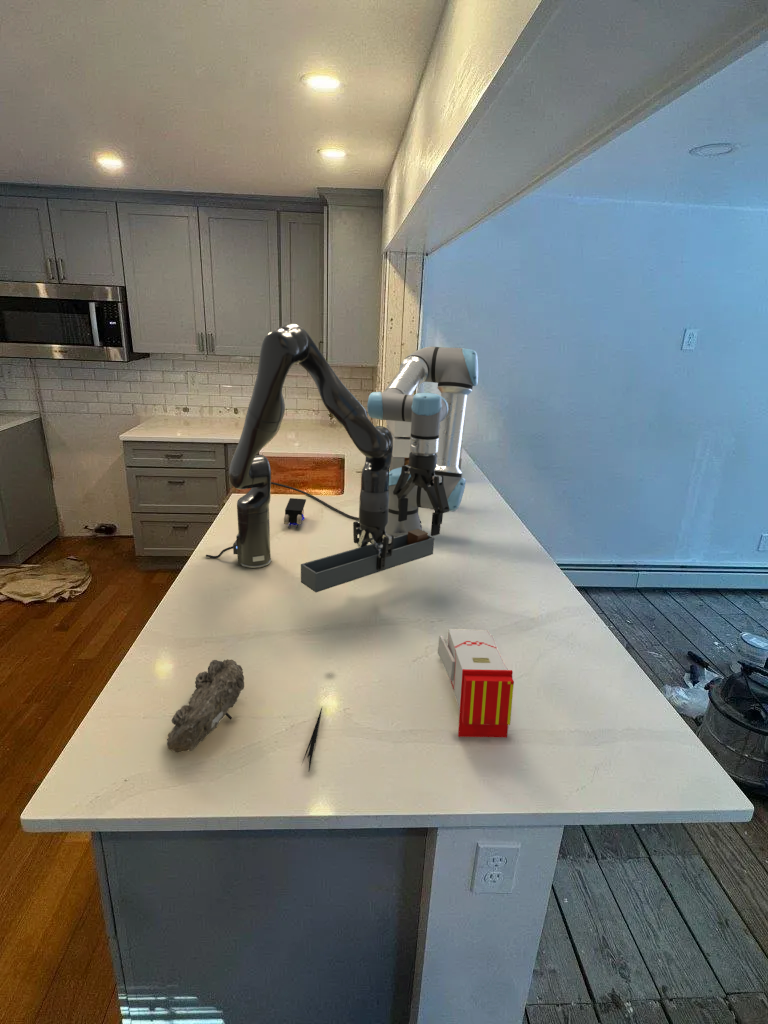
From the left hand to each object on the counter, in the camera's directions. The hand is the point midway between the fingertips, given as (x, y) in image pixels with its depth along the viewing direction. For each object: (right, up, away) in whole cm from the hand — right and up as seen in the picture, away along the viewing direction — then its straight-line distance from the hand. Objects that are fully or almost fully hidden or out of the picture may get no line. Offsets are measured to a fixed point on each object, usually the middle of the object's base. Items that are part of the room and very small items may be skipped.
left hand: (371, 564), depth 150 cm
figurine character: (-29, +10, +55) cm, 62 cm away
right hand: (+13, +10, +8) cm, 18 cm away
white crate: (+21, +33, +125) cm, 131 cm away
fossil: (-29, -25, -42) cm, 57 cm away
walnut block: (+13, +3, +10) cm, 16 cm away
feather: (-9, -26, -42) cm, 50 cm away
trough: (0, -1, 0) cm, 1 cm away
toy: (+21, -24, -32) cm, 45 cm away
